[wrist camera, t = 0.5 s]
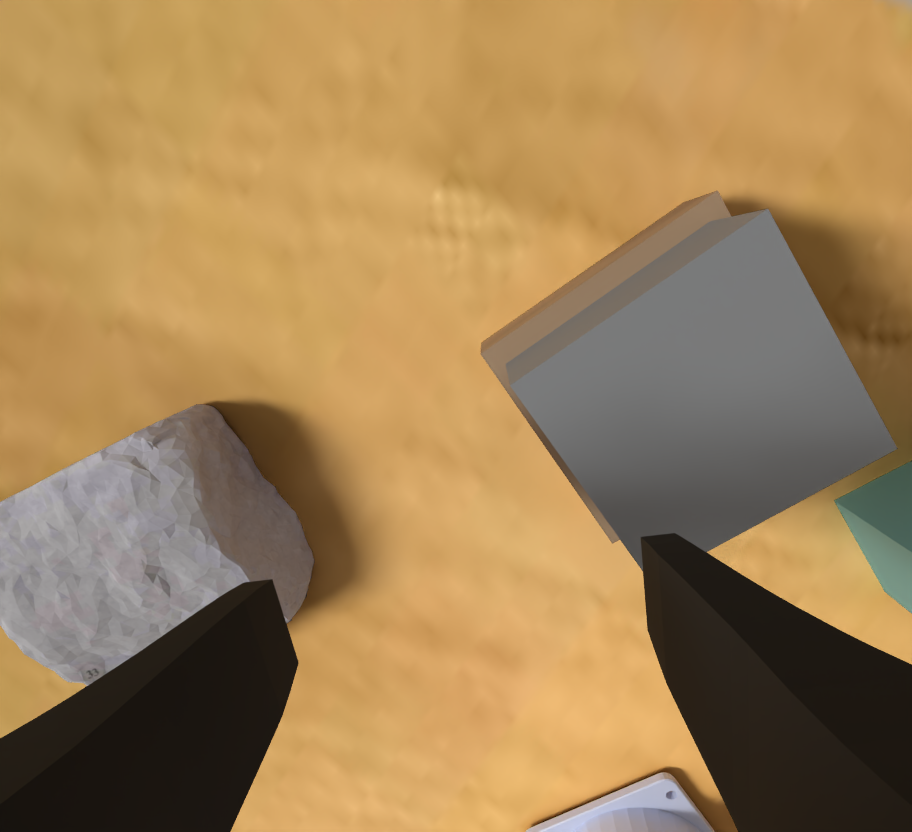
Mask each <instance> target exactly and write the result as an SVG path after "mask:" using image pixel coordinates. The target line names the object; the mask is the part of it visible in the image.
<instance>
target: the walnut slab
mask: <svg viewBox="0 0 912 832" xmlns="http://www.w3.org/2000/svg"><path fill="white" fill-rule="evenodd" d="M728 217H732V216H731V215H730V213H729V211H728V209H727V207H726V205H725V203H724V202H723V200H722V198H721V196H720V194H719V192H718V191H715V192H712V193H709V194H706V195H704V196H701V197H698V198H695V199H692V200H689V201H686V202H683V203H682V204H680V205H679V206H678V207H676V208H675V209H673V210H672V211H670V212H669V213H667V214H666V215H665V216H663V217H662V218H660V219H659V220H657V221H656V222H654V223H653V224H652V225H650V226H649V227H647V228H646V229H644V230H643V231H642V232H640V233H639V234H637V235H636V236H634V237H633V238H631V239H630V240H629V241H627V242H626V243H624V244H623V245H621V246H620V247H618V248H617V249H616V250H614V251H613V252H611V253H610V254H608V255H607V256H605V257H604V258H603V259H601V260H600V261H598V262H597V263H595V264H594V265H593V266H591V267H590V268H588V269H587V270H585V271H584V272H582V273H581V274H580V275H578V276H577V277H575V278H574V279H572V280H571V281H569V282H568V283H567V284H565V285H564V286H562V287H561V288H559V289H558V290H556V291H555V292H554V293H552V294H551V295H549V296H548V297H546V298H545V299H543V300H542V301H541V302H539V303H538V304H536V305H535V306H533V307H532V308H531V309H529V310H528V311H526V312H525V313H523V314H522V315H520V316H519V317H518V318H516V319H515V320H513V321H512V322H510V323H509V324H507V325H506V326H505V327H503V328H502V329H500V330H499V331H497V332H496V333H494V334H493V335H492V336H490V337H489V338H487V339H486V340H484V341H483V342H482V343H481V355H482V357H483V358H484V359H485V361H486V362H487V364H488V365H489V367H490V368H491V370H492V371H493V372H494V374H495V375H496V377H497V378H498V380H499V381H500V382H501V384H502V385H503V387H504V388H505V390H506V391H507V393H508V394H509V395H510V397H511V398H512V400H513V401H514V403H515V404H516V405H517V407H518V408H519V410H520V411H521V413H522V414H523V416H524V417H525V418H526V420H527V421H528V423H529V424H530V426H531V427H532V428H533V430H534V431H535V433H536V434H537V436H538V437H539V439H540V440H541V441H542V443H543V444H544V446H545V447H546V449H547V450H548V452H549V453H550V454H551V456H552V457H553V459H554V460H555V462H556V463H557V464H558V466H559V467H560V469H561V470H562V472H563V473H564V475H565V476H566V477H567V479H568V480H569V482H570V483H571V485H572V486H573V487H574V489H575V490H576V492H577V493H578V495H579V496H580V498H581V499H582V500H583V502H584V503H585V505H586V506H587V508H588V509H589V510H590V512H591V513H592V515H593V516H594V518H595V519H596V521H597V522H598V523H599V525H600V526H601V528H602V529H603V531H604V532H605V533H606V535H607V536H608V538H609V539H610V541H611V542H612V544H613V543H614V542H616V541H618V540H620V539H619V537H618V536H617V534H616V533H615V532H614V530H613V529H612V527H611V526H610V525H609V523H608V522H607V520H606V519H605V518H604V516H603V515H602V513H601V512H600V511H599V509H598V508H597V506H596V505H595V504H594V502H593V501H592V499H591V498H590V497H589V495H588V494H587V492H586V491H585V490H584V488H583V487H582V486H581V484H580V483H579V481H578V480H577V479H576V477H575V476H574V474H573V473H572V472H571V470H570V469H569V467H568V466H567V465H566V463H565V462H564V460H563V459H562V458H561V456H560V455H559V453H558V452H557V451H556V449H555V448H554V446H553V445H552V444H551V442H550V441H549V439H548V438H547V437H546V435H545V434H544V432H543V431H542V430H541V428H540V427H539V425H538V424H537V423H536V421H535V420H534V418H533V417H532V416H531V414H530V413H529V411H528V410H527V409H526V407H525V406H524V405H523V403H522V402H521V400H520V399H519V398H518V396H517V395H516V393H515V392H514V391H513V389H512V388H511V386H510V384H509V379H508V373H507V368H506V363H508V362H509V361H511V360H512V359H513V358H515V357H516V356H518V355H519V354H521V353H522V352H523V351H525V350H526V349H528V348H529V347H531V346H532V345H533V344H535V343H536V342H538V341H539V340H541V339H542V338H544V337H545V336H546V335H548V334H549V333H551V332H552V331H554V330H555V329H556V328H558V327H559V326H561V325H562V324H564V323H565V322H566V321H568V320H569V319H571V318H572V317H574V316H575V315H576V314H578V313H579V312H581V311H582V310H584V309H585V308H587V307H588V306H589V305H591V304H592V303H594V302H595V301H597V300H598V299H599V298H601V297H602V296H604V295H605V294H607V293H608V292H609V291H611V290H612V289H614V288H615V287H617V286H618V285H620V284H621V283H622V282H624V281H625V280H627V279H628V278H630V277H631V276H632V275H634V274H635V273H637V272H638V271H640V270H641V269H642V268H644V267H645V266H647V265H648V264H650V263H651V262H652V261H654V260H655V259H657V258H658V257H660V256H661V255H663V254H664V253H665V252H667V251H668V250H670V249H671V248H673V247H674V246H675V245H677V244H678V243H680V242H681V241H683V240H684V239H685V238H687V237H688V236H690V235H691V234H693V233H694V232H696V231H697V230H698V229H700V228H701V227H703V226H704V225H706V224H707V223H708V222H710V221H714V220H718V219H723V218H728Z"/></svg>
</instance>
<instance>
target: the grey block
mask: <svg viewBox="0 0 912 832" xmlns="http://www.w3.org/2000/svg"><path fill="white" fill-rule="evenodd" d="M506 368H507V373H508V379H509V384H510V386H511V388H512V389H513V391H514V392H515V393H516V395H517V396H518V398H519V399H520V400H521V402H522V403H523V405H524V406H525V407H526V409H527V410H528V411H529V413H530V414H531V416H532V417H533V418H534V420H535V421H536V423H537V424H538V425H539V427H540V428H541V430H542V431H543V432H544V434H545V435H546V437H547V438H548V439H549V441H550V442H551V444H552V445H553V446H554V448H555V449H556V451H557V452H558V453H559V455H560V456H561V458H562V459H563V460H564V462H565V463H566V465H567V466H568V467H569V469H570V470H571V472H572V473H573V474H574V476H575V477H576V479H577V480H578V481H579V483H580V484H581V486H582V487H583V488H584V490H585V491H586V492H587V494H588V495H589V497H590V498H591V499H592V501H593V502H594V504H595V505H596V506H597V508H598V509H599V511H600V512H601V513H602V515H603V516H604V518H605V519H606V520H607V522H608V523H609V525H610V526H611V527H612V529H613V530H614V532H615V533H616V534H617V536H618V537H619V539H620V540H621V541H622V543H623V544H624V546H625V547H626V548H627V550H628V551H629V553H630V554H631V555H632V557H633V558H634V560H635V561H636V562H637V564H638V565H639V566H640V568H641V569H642V571H643V563H642V550H641V537H644V536H653V535H661V534H670V533H676V534H677V535H679V536H681V537H683V538H684V539H686V540H687V541H689V542H691V543H692V544H694V545H695V546H697V547H699V548H700V549H702V550H703V551H705V552H707V551H709V550H711V549H713V548H715V547H717V546H719V545H720V544H722V543H724V542H726V541H728V540H730V539H732V538H733V537H735V536H737V535H739V534H741V533H743V532H745V531H746V530H748V529H750V528H752V527H754V526H756V525H757V524H759V523H761V522H763V521H765V520H767V519H769V518H770V517H772V516H774V515H776V514H778V513H780V512H782V511H783V510H785V509H787V508H789V507H791V506H793V505H795V504H796V503H798V502H800V501H802V500H804V499H806V498H807V497H809V496H811V495H813V494H815V493H817V492H819V491H820V490H822V489H824V488H826V487H828V486H830V485H832V484H833V483H835V482H837V481H839V480H841V479H843V478H844V477H846V476H848V475H850V474H852V473H854V472H856V471H857V470H859V469H861V468H863V467H865V466H867V465H869V464H870V463H872V462H874V461H876V460H878V459H880V458H882V457H883V456H885V455H887V454H889V453H891V452H893V451H894V450H896V449H897V447H896V445H895V443H894V441H893V439H892V437H891V436H890V434H889V432H888V430H887V428H886V426H885V424H884V423H883V421H882V419H881V417H880V415H879V413H878V411H877V410H876V408H875V406H874V404H873V402H872V400H871V399H870V397H869V395H868V393H867V391H866V389H865V387H864V386H863V384H862V382H861V380H860V378H859V376H858V374H857V373H856V371H855V369H854V367H853V365H852V363H851V361H850V360H849V358H848V356H847V354H846V352H845V350H844V349H843V347H842V345H841V343H840V341H839V339H838V337H837V336H836V334H835V332H834V330H833V328H832V326H831V324H830V323H829V321H828V319H827V317H826V315H825V313H824V311H823V310H822V308H821V306H820V304H819V302H818V300H817V298H816V297H815V295H814V293H813V291H812V289H811V287H810V286H809V284H808V282H807V280H806V278H805V276H804V274H803V273H802V271H801V269H800V267H799V265H798V263H797V261H796V260H795V258H794V256H793V254H792V252H791V250H790V248H789V247H788V245H787V243H786V241H785V239H784V237H783V236H782V234H781V232H780V230H779V228H778V226H777V224H776V223H775V221H774V219H773V217H772V215H771V213H770V211H769V210H768V209H765V210H760V211H755V212H751V213H746V214H741V215H737V216H732V217H728V218H723V219H718V220H714V221H710V222H708V223H707V224H706V225H704V226H703V227H701V228H700V229H698V230H697V231H696V232H694V233H693V234H691V235H690V236H688V237H687V238H685V239H684V240H683V241H681V242H680V243H678V244H677V245H675V246H674V247H673V248H671V249H670V250H668V251H667V252H665V253H664V254H663V255H661V256H660V257H658V258H657V259H655V260H654V261H652V262H651V263H650V264H648V265H647V266H645V267H644V268H642V269H641V270H640V271H638V272H637V273H635V274H634V275H632V276H631V277H630V278H628V279H627V280H625V281H624V282H622V283H621V284H620V285H618V286H617V287H615V288H614V289H612V290H611V291H609V292H608V293H607V294H605V295H604V296H602V297H601V298H599V299H598V300H597V301H595V302H594V303H592V304H591V305H589V306H588V307H587V308H585V309H584V310H582V311H581V312H579V313H578V314H576V315H575V316H574V317H572V318H571V319H569V320H568V321H566V322H565V323H564V324H562V325H561V326H559V327H558V328H556V329H555V330H554V331H552V332H551V333H549V334H548V335H546V336H545V337H544V338H542V339H541V340H539V341H538V342H536V343H535V344H533V345H532V346H531V347H529V348H528V349H526V350H525V351H523V352H522V353H521V354H519V355H518V356H516V357H515V358H513V359H512V360H511V361H509V362H508V363H506Z"/></svg>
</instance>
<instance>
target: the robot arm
mask: <svg viewBox="0 0 912 832" xmlns="http://www.w3.org/2000/svg"><path fill="white" fill-rule="evenodd" d="M641 550H642V563H643V576H644V589H645V602H646V615H647V628H648V632H649V635H650V638H651V641H652V644H653V647H654V650H655V652H656V655H657V658H658V661H659V664H660V667H661V669H662V672H663V675H664V678H665V680H666V683H667V685H668V687H669V689H670V692H671V694H672V696H673V698H674V700H675V702H676V704H677V706H678V708H679V710H680V712H681V714H682V717H683V719H684V721H685V723H686V725H687V727H688V729H689V731H690V733H691V735H692V737H693V739H694V741H695V743H696V745H697V747H698V749H699V751H700V753H701V756H702V758H703V760H704V762H705V764H706V766H707V768H708V770H709V772H710V774H711V776H712V778H713V780H714V782H715V784H716V786H717V788H718V790H719V792H720V794H721V796H722V798H723V801H724V803H725V805H726V807H727V809H728V811H729V813H730V815H731V817H732V819H733V821H734V823H735V825H736V828H737V830H738V832H912V665H911V664H909V663H907V662H905V661H903V660H900V659H898V658H896V657H894V656H892V655H890V654H888V653H885V652H883V651H881V650H879V649H877V648H875V647H872V646H870V645H868V644H866V643H864V642H862V641H860V640H858V639H856V638H854V637H852V636H850V635H848V634H846V633H844V632H842V631H840V630H838V629H837V628H835V627H833V626H831V625H829V624H827V623H825V622H824V621H822V620H820V619H818V618H816V617H814V616H812V615H810V614H809V613H807V612H805V611H803V610H801V609H799V608H797V607H796V606H794V605H792V604H790V603H789V602H787V601H785V600H783V599H782V598H780V597H778V596H776V595H775V594H773V593H771V592H770V591H768V590H766V589H764V588H763V587H761V586H759V585H758V584H756V583H754V582H753V581H751V580H750V579H748V578H746V577H745V576H743V575H741V574H740V573H738V572H737V571H735V570H733V569H732V568H730V567H728V566H727V565H725V564H724V563H722V562H721V561H719V560H717V559H716V558H714V557H713V556H711V555H710V554H708V553H706V552H705V551H703V550H702V549H700V548H699V547H697V546H695V545H694V544H692V543H691V542H689V541H687V540H686V539H684V538H683V537H681V536H679V535H677V534H676V533H670V534H661V535H653V536H644V537H641ZM297 666H298V660H297V656H296V653H295V650H294V647H293V644H292V640H291V637H290V634H289V631H288V627H287V624H286V621H285V618H284V615H283V611H282V608H281V605H280V602H279V599H278V595H277V592H276V589H275V586H274V583H273V579H269V580H261V581H252V582H244V583H242V584H240V585H238V586H237V587H235V588H233V589H231V590H230V591H228V592H226V593H225V594H223V595H222V596H220V597H219V598H217V599H216V600H214V601H213V602H211V603H210V604H208V605H207V606H205V607H204V608H202V609H201V610H199V611H198V612H196V613H195V614H193V615H192V616H190V617H189V618H188V619H186V620H185V621H183V622H182V623H180V624H179V625H177V626H176V627H175V628H173V629H172V630H170V631H169V632H167V633H166V634H164V635H163V636H162V637H160V638H159V639H157V640H156V641H154V642H153V643H151V644H150V645H148V646H147V647H146V648H144V649H143V650H141V651H140V652H138V653H137V654H135V655H134V656H132V657H131V658H129V659H128V660H126V661H125V662H123V663H122V664H120V665H119V666H117V667H116V668H114V669H112V670H111V671H109V672H108V673H106V674H105V675H103V676H102V677H100V678H99V679H97V680H96V681H94V682H93V683H91V684H90V685H88V686H87V687H85V688H84V689H82V690H80V691H79V692H77V693H76V694H74V695H73V696H71V697H70V698H68V699H66V700H65V701H63V702H62V703H60V704H58V705H57V706H55V707H53V708H52V709H50V710H48V711H47V712H45V713H43V714H42V715H40V716H38V717H37V718H35V719H33V720H32V721H30V722H28V723H27V724H25V725H23V726H21V727H20V728H18V729H16V730H14V731H13V732H11V733H9V734H7V735H6V736H4V737H2V738H0V832H230V831H231V829H232V827H233V824H234V822H235V820H236V818H237V816H238V813H239V811H240V809H241V807H242V805H243V802H244V800H245V798H246V796H247V794H248V791H249V789H250V787H251V785H252V783H253V780H254V778H255V776H256V774H257V772H258V769H259V767H260V765H261V763H262V761H263V758H264V756H265V754H266V752H267V749H268V747H269V745H270V743H271V740H272V738H273V736H274V734H275V731H276V729H277V727H278V724H279V722H280V720H281V717H282V715H283V712H284V709H285V706H286V703H287V700H288V697H289V694H290V691H291V687H292V684H293V680H294V677H295V673H296V670H297ZM526 832H715V831H714V829H713V828H712V827H711V825H710V824H709V823H708V821H707V820H706V819H705V817H704V816H703V815H702V813H701V812H700V811H699V810H698V808H697V807H696V806H695V804H694V803H693V802H692V800H691V799H690V798H689V796H688V795H687V794H686V792H685V791H684V790H683V788H682V787H681V786H680V784H679V783H678V782H677V780H676V779H675V778H674V776H672V775H671V774H669V773H666V772H661V773H658V774H656V775H653V776H651V777H649V778H646V779H644V780H641V781H639V782H637V783H634V784H632V785H630V786H627V787H625V788H623V789H620V790H618V791H616V792H613V793H611V794H608V795H606V796H604V797H601V798H599V799H597V800H594V801H592V802H590V803H587V804H585V805H583V806H580V807H578V808H576V809H573V810H571V811H568V812H566V813H564V814H561V815H559V816H557V817H554V818H552V819H550V820H547V821H545V822H543V823H540V824H538V825H535V826H533V827H531V828H529V829H528V830H527V831H526Z"/></svg>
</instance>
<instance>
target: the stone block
mask: <svg viewBox="0 0 912 832" xmlns="http://www.w3.org/2000/svg"><path fill="white" fill-rule="evenodd" d="M314 562H315V560H314V558H313V554H312V551H311V549H310V547H309V545H308V543H307V541H306V538H305V535H304V532H303V529H302V525H301V523H300V521H299V519H298V517H297V514H296V512H295V511H294V510H292V509H291V507H290V506H289V505H288V504H287V503H286V502H285V500H284V499H283V498H282V497H281V496H280V495H279V493H278V492H277V490H276V488H275V486H273V485H272V484H271V483H269V482H268V481H267V480H266V479H264V478H263V476H262V475H261V473H260V471H259V470H258V468H257V467H256V465H255V463H254V461H253V458H252V456H251V455H250V454H249V451H248V449H247V448H246V446H245V445H244V444H243V443H242V441H241V440H240V439H239V438H238V437H237V436H236V434H235V433H234V432H233V431H232V429H231V428H230V427H229V426H228V424H227V423H226V422H225V420H224V418H223V416H222V415H221V414H220V412H219V411H218V410H217V409H216V408H214V407H213V406H209V405H205V404H196V405H194V406H192V407H190V408H188V409H186V410H183V411H181V412H179V413H177V414H174V415H172V416H170V417H168V418H166V419H163V420H161V421H158V422H156V423H154V424H153V425H151V426H148V427H146V428H144V429H142V430H140V431H138V432H135V433H134V434H132V435H130V436H128V437H126V438H124V439H122V440H120V441H118V442H116V443H114V444H112V445H110V446H108V447H106V448H104V449H102V450H100V451H98V452H96V453H94V454H92V455H90V456H88V457H86V458H84V459H82V460H80V461H78V462H76V463H74V464H72V465H70V466H68V467H66V468H64V469H62V470H61V471H59V472H57V473H55V474H53V475H51V476H49V477H48V478H46V479H44V480H42V481H40V482H38V483H36V484H35V485H33V486H31V487H29V488H27V489H25V490H23V491H21V492H19V493H17V494H15V495H12V496H11V497H9V498H7V499H5V500H3V501H1V502H0V626H1V627H2V628H3V630H4V631H5V633H6V634H7V636H8V637H9V638H10V639H12V640H14V642H15V643H16V644H17V645H18V647H19V648H20V649H21V651H22V652H23V653H24V654H25V655H27V656H28V657H30V658H32V659H34V660H36V661H37V662H39V663H40V664H42V665H43V666H45V667H47V668H49V669H51V670H53V671H55V672H56V673H57V674H58V675H59V676H60V677H61V678H63V679H64V680H66V681H67V682H75V683H84V684H86V685H87V686H88V685H90V684H91V683H93V682H94V681H96V680H97V679H99V678H100V677H102V676H103V675H105V674H106V673H108V672H109V671H111V670H112V669H114V668H116V667H117V666H119V665H120V664H122V663H123V662H125V661H126V660H128V659H129V658H131V657H132V656H134V655H135V654H137V653H138V652H140V651H141V650H143V649H144V648H146V647H147V646H148V645H150V644H151V643H153V642H154V641H156V640H157V639H159V638H160V637H162V636H163V635H164V634H166V633H167V632H169V631H170V630H172V629H173V628H175V627H176V626H177V625H179V624H180V623H182V622H183V621H185V620H186V619H188V618H189V617H190V616H192V615H193V614H195V613H196V612H198V611H199V610H201V609H202V608H204V607H205V606H207V605H208V604H210V603H211V602H213V601H214V600H216V599H217V598H219V597H220V596H222V595H223V594H225V593H226V592H228V591H230V590H231V589H233V588H235V587H237V586H238V585H240V584H242V583H244V582H252V581H261V580H269V579H273V583H274V586H275V589H276V592H277V595H278V599H279V602H280V605H281V608H282V611H283V615H284V618H285V621H286V624H287V623H288V622H290V621H291V620H292V617H293V616H294V615H295V614H296V612H297V611H298V610H299V609H300V607H301V605H302V603H303V601H304V599H305V598H306V596H307V590H308V585H309V582H310V579H311V574H312V568H313V565H314Z"/></svg>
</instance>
